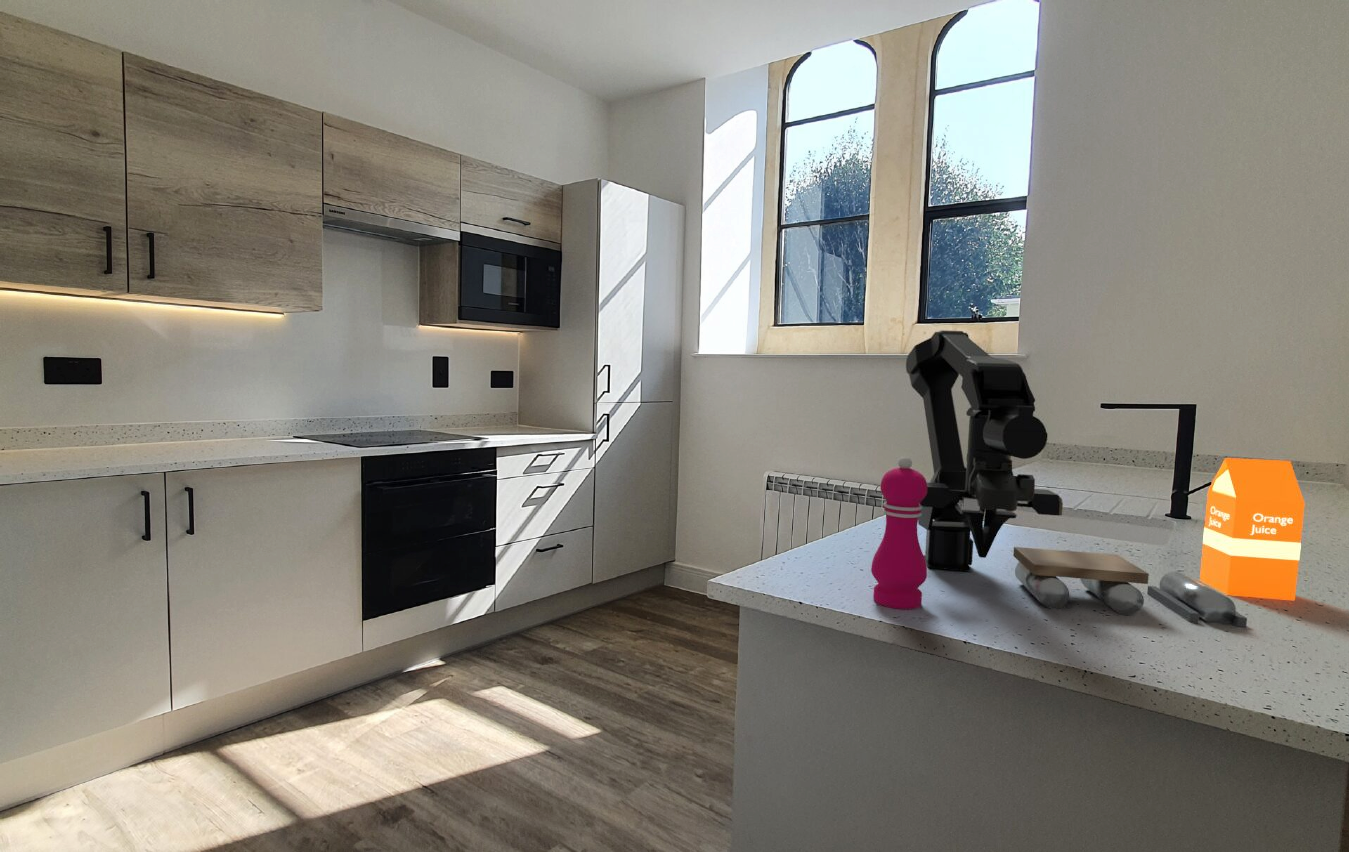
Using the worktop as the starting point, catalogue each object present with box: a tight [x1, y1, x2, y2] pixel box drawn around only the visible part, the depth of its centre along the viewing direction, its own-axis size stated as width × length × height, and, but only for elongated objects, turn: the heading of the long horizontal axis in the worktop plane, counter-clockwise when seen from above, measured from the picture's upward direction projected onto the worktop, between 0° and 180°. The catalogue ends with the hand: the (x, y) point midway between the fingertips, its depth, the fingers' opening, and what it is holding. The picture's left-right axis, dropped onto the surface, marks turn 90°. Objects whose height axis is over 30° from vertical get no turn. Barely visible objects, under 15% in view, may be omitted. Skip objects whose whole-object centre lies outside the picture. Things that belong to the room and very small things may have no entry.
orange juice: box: [1199, 457, 1306, 601], centre depth 105 cm, size 8×9×20 cm
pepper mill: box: [870, 456, 928, 610], centre depth 94 cm, size 7×7×20 cm
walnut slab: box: [1012, 546, 1150, 585], centre depth 98 cm, size 14×10×1 cm
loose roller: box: [1159, 571, 1237, 625], centre depth 95 cm, size 11×4×4 cm, turn 169°
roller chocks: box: [1146, 585, 1248, 628], centre depth 95 cm, size 6×12×1 cm, turn 168°
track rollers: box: [1014, 561, 1145, 616], centre depth 98 cm, size 13×11×4 cm
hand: (982, 556), depth 101 cm, fingers closed
